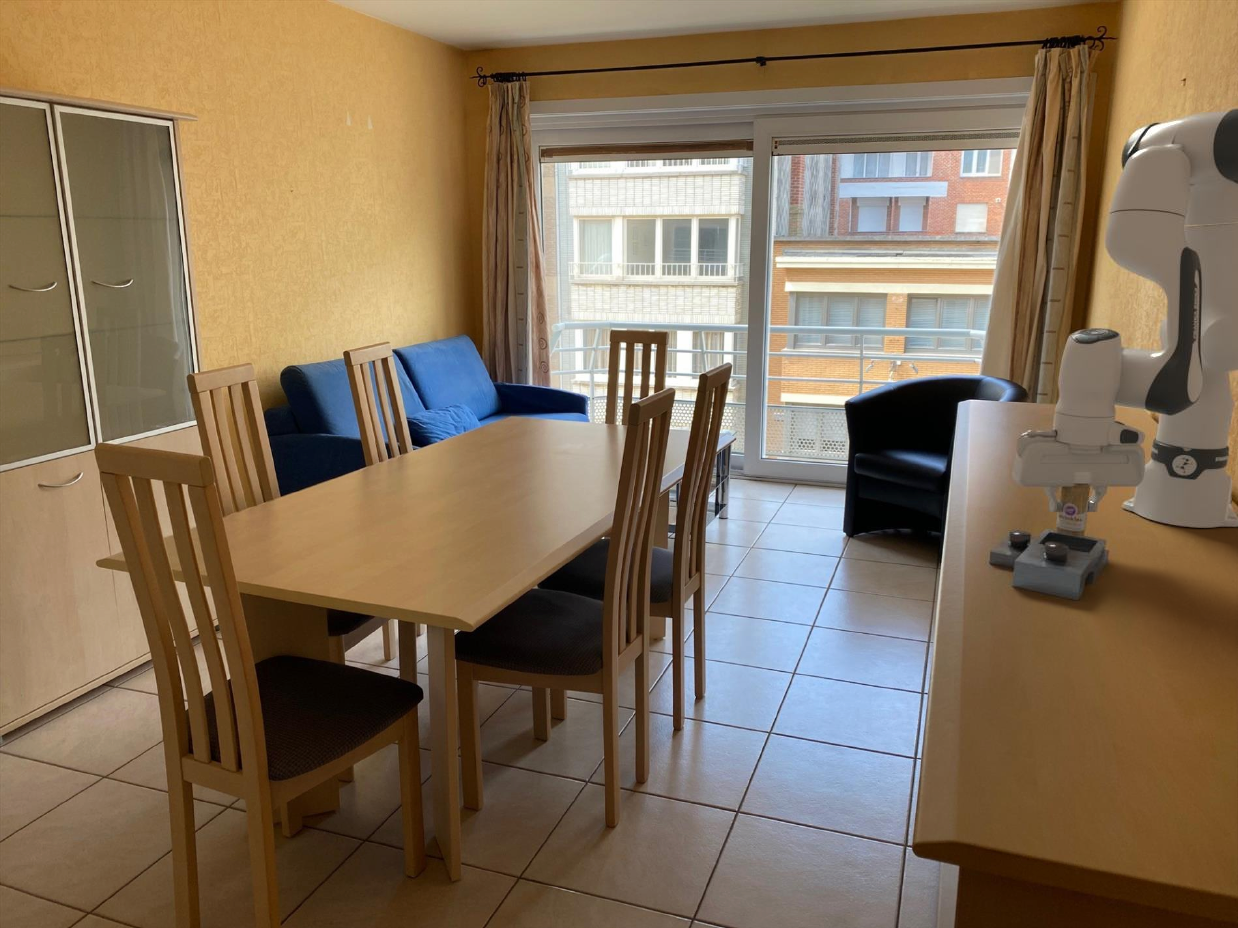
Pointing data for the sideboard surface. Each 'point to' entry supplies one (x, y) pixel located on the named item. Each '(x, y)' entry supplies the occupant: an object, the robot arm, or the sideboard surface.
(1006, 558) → the grey knobbed tray
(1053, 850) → the sideboard surface
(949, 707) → the sideboard surface
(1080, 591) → the grey box with knob
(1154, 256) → the robot arm
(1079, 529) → the sprinkles bottle
